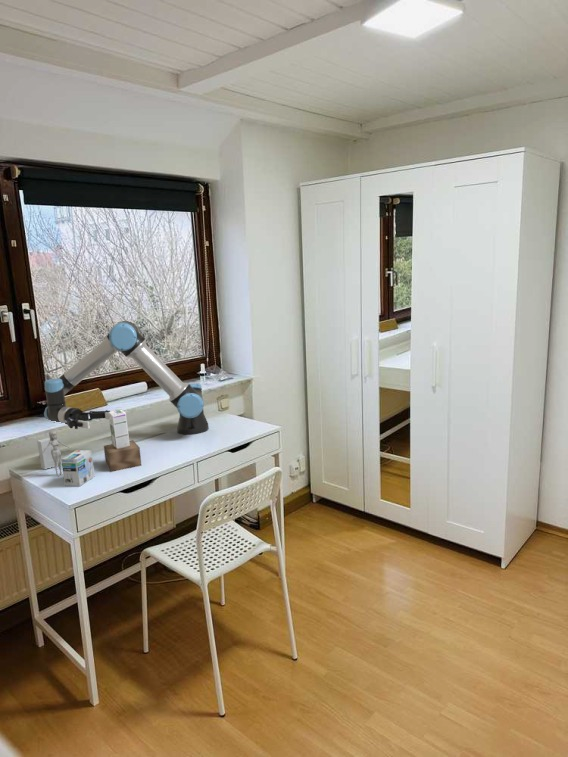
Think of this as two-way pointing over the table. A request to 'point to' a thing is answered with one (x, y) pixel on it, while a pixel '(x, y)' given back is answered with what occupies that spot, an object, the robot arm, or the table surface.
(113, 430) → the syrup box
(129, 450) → the walnut block
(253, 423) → the table surface
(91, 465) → the light bulb box
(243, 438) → the table surface
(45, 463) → the skincare box
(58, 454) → the human figurine
